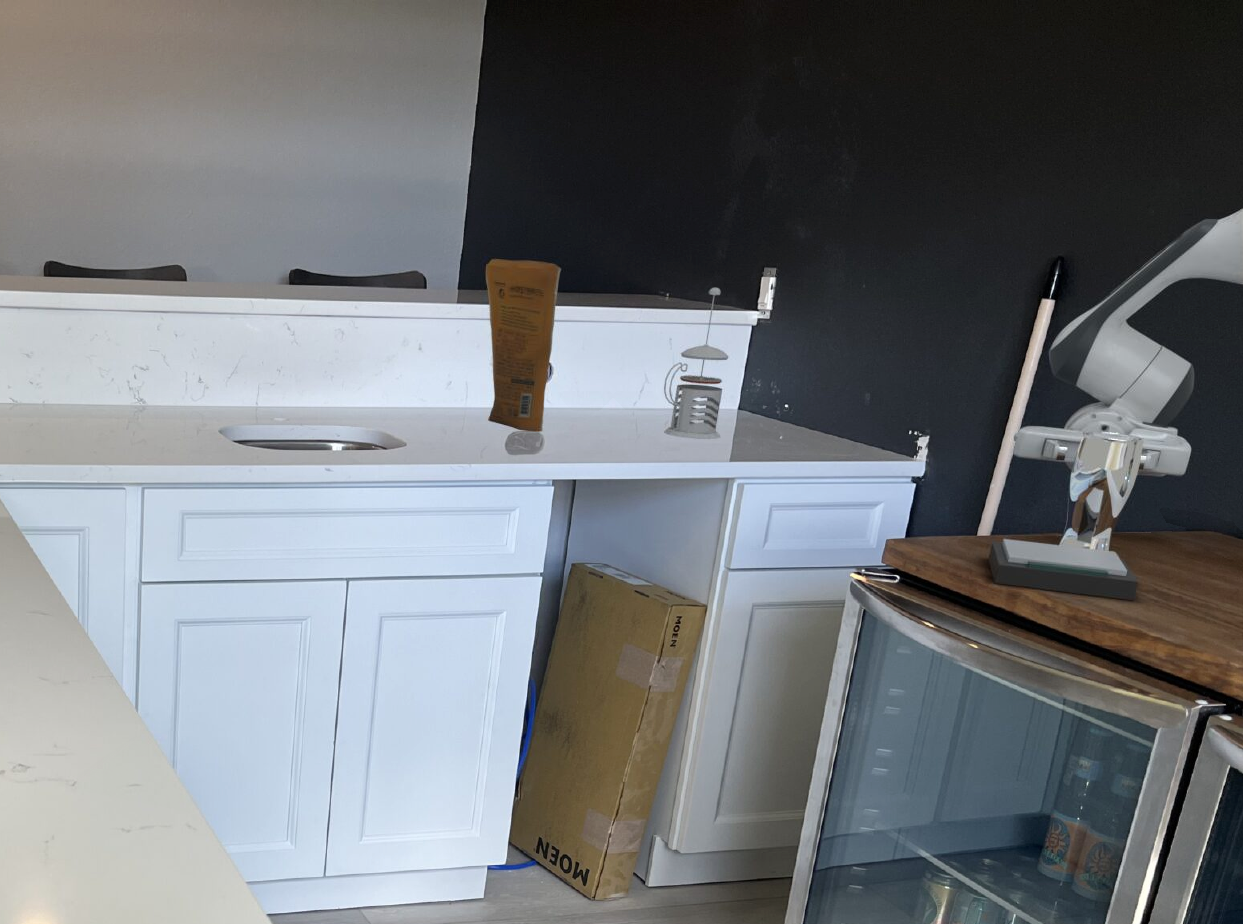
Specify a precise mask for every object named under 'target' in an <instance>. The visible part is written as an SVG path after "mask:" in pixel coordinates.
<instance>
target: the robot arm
mask: <svg viewBox="0 0 1243 924" xmlns="http://www.w3.org/2000/svg"><path fill="white" fill-rule="evenodd" d="M1188 279H1208V280H1209V279H1210V280H1216V281H1217V280H1218V281H1223V282H1229V283H1233V284H1239V285H1243V208H1241V209H1240V210H1238V211H1236V212H1234V213H1232V214H1230V215H1228V216H1225V217H1223V218H1220V219H1214V218H1212V219H1211V218H1205V219H1203V220H1202V221H1199V222H1197V223H1196V224H1194V225H1193V226H1191V227H1189V228H1188V229H1186V230H1185V231H1183V232H1182V233H1181V234H1180V235H1178V236H1177V237H1176V238H1175V239H1173V240H1172V241H1171V242H1170V243H1169V244H1167V245H1166V246H1165V247H1163V249H1161V250H1160V251H1159V252H1157V253H1156V254H1155V255H1154V256H1153V257H1151V258H1150V259H1149V260H1148V261H1147V262H1145V263H1144V264H1143V265H1142V266H1141V267H1140V268H1138V269H1137V270H1136V271H1135V272H1134V273H1132V274H1131V275H1130V276H1129V277H1128V278H1127V279H1125V280H1124V281H1123V282H1122V283H1120V284H1119V285H1118V286H1117V287H1116V288H1114V289H1113V290H1112V291H1111V292H1110V293H1108V295H1107V296H1105V297H1104V298H1102V300H1100V301H1099V302H1098V303H1096V304H1095V305H1094V306H1092V307H1091V308H1090V309H1089V310H1087V311H1086V312H1084V313H1082V314H1081V315H1079V316H1077V317H1075V319H1073V320H1071V322H1070V323H1068V324H1067V325H1066V326H1065V327H1064V328H1063V329H1062V330H1061V331H1059V333H1058V334H1057V336H1056V337H1055V339H1054V340H1053V342H1052V344H1051V346H1050V348H1049V349H1048V359H1049V364H1050V368H1051V372H1052V374H1053V377H1055V378H1057V379H1059V380H1061V381H1063V382H1064V383H1067V384H1069V385H1070V386H1072V387H1077V388H1078V389H1080V390H1082V391H1083V392H1085V393H1086V394H1089V396H1091V397H1093V398H1094V399H1096V400H1097V401H1099V402H1094V403H1093V402H1092V403H1090V404H1087V405H1085V406H1083V407H1081V408H1079V409H1078V410H1077V411H1076V412H1074V413H1073V414H1072V415H1070V418H1068V420H1067V421H1066V423H1065V425H1064V428H1059V427H1051V426H1040V425H1039V426H1038V425H1026V426H1023V427H1021V428H1020V429H1019V430H1018V431H1017V433H1015V434H1014V435H1013V441H1014V442H1015V443H1014V448H1013V451H1012V452H1013V453H1012V454H1013V456H1014V457H1017V458H1022V459H1028V460H1038V461H1047V462H1055V463H1056V462H1057V463H1063V464H1065V465H1066V466H1067V467H1068V468H1069V469H1070V470H1071V471H1072V467H1073V463H1074V460H1075V456H1076V453H1077V450H1078V447H1079V445H1080V442H1081V439H1082V436H1083V433H1084V432H1087V431H1100V432H1113V433H1122V434H1128V435H1134V436H1138V437H1142V438H1144V439H1145V440H1144V443H1143V448H1142V454H1141V460H1140V465H1139V469H1138V473H1137V476H1138V477H1140V476H1141V477H1157V478H1161V477H1164V476H1166V475H1168V476H1173V477H1182V476H1183V475H1185V473H1186V471H1187V468H1188V465H1189V461H1190V457H1191V453H1192V447H1191V444H1190V443H1189V442H1188V441H1187V439H1185V438H1184V437H1182V436H1180V435H1178V429H1177V428H1176V427H1173V426H1168V425H1169V424H1171V423H1172V421H1174V419H1175V418H1176V417H1177V415H1178V414H1179V413H1180V412H1181V411H1182V409H1183V408H1184V407H1185V405H1186V404H1187V402H1188V401H1189V399H1190V397H1191V395H1192V393H1193V391H1194V387H1195V369H1194V366H1193V363H1191V362H1189V361H1188V360H1186V359H1184V358H1183V357H1181V356H1180V355H1178V354H1177V353H1175V352H1173V350H1171V349H1168V348H1166V347H1165V346H1164V345H1161V344H1159V343H1158V342H1157V341H1154V340H1153V339H1151V338H1150V337H1148V336H1146V335H1145V334H1143V333H1141V332H1139V331H1138V330H1136V329H1135V328H1133V327H1131V326H1130V325H1129V324H1128V322H1127V320H1128V319H1129V318H1130V317H1131V316H1133V315H1134V314H1135V313H1136V312H1137V311H1138V310H1140V309H1142V308H1143V307H1144V306H1145V305H1146V304H1147V303H1149V302H1150V301H1151V300H1152V299H1154V298H1155V297H1156V296H1157V295H1159V294H1160V293H1161V292H1162V291H1163V290H1165V289H1166V288H1167V287H1168V286H1170V285H1172V284H1174V283H1176V282H1179V281H1182V280H1188Z"/></svg>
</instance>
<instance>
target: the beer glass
mask: <svg viewBox="0 0 1243 924" xmlns="http://www.w3.org/2000/svg"><path fill="white" fill-rule="evenodd" d="M1144 440H1145V439H1144V438H1142V437H1138V436H1134V435H1128V434H1122V433H1113V432H1100V431H1087V432H1084V433H1083V436H1082V439H1081V442H1080V445H1079V447H1078V450H1077V453H1076V456H1075V460H1074V463H1073V467H1072V470H1071V472H1070V476H1069V483H1068V495H1067V511H1066V520H1065V525H1064V529H1063V532H1062V535H1061V537H1060V539H1059V541H1058V543H1057V545H1061V546H1069V547H1078V548H1086V549H1095V550H1103V551H1111V549H1112V548H1111V547H1112V538H1113V535H1114V531H1115V528H1116V526H1117V523H1118V521H1119V519H1120V517H1121V515H1122V512H1123V511H1124V508H1125V506H1126V505H1127V502H1128V500H1129V498H1130V496H1131V494H1132V491H1133V488H1134V487H1135V484H1136V483H1135V482H1136V480H1137V473H1138V469H1139V465H1140V460H1141V454H1142V448H1143V443H1144Z"/></svg>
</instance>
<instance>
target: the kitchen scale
mask: <svg viewBox="0 0 1243 924" xmlns="http://www.w3.org/2000/svg"><path fill="white" fill-rule="evenodd" d="M988 565H989V568H990V572H991V574H992V579H993V582H994V584H999V585H1006V586H1007V585H1008V586H1015V587H1022V588H1030V589H1038V590H1045V591H1053V592H1062V593H1068V594H1069V593H1071V594H1078V595H1085V596H1092V597H1100V598H1101V597H1102V598H1109V599H1117V600H1124V601H1132V602H1133V601H1134V598H1135V594H1136V591H1137V587H1138V585H1139V580H1138V579H1137V578H1136V576H1135V574H1134V572H1133V571H1132V570H1131V569H1130V567H1129V565H1128V563H1127V562H1126V561H1125V559H1124V558H1123V557H1120V556H1119V555H1118V554H1117V553H1116V551H1111V550H1110V551H1103V550H1095V549H1086V548H1078V547H1069V546H1061V545H1058V544H1051V543H1042V542H1035V541H1034V542H1033V541H1025V540H1017V539H1009V538H1002V543H1001V542H992V543H991V547H990V551H989V555H988Z"/></svg>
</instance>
